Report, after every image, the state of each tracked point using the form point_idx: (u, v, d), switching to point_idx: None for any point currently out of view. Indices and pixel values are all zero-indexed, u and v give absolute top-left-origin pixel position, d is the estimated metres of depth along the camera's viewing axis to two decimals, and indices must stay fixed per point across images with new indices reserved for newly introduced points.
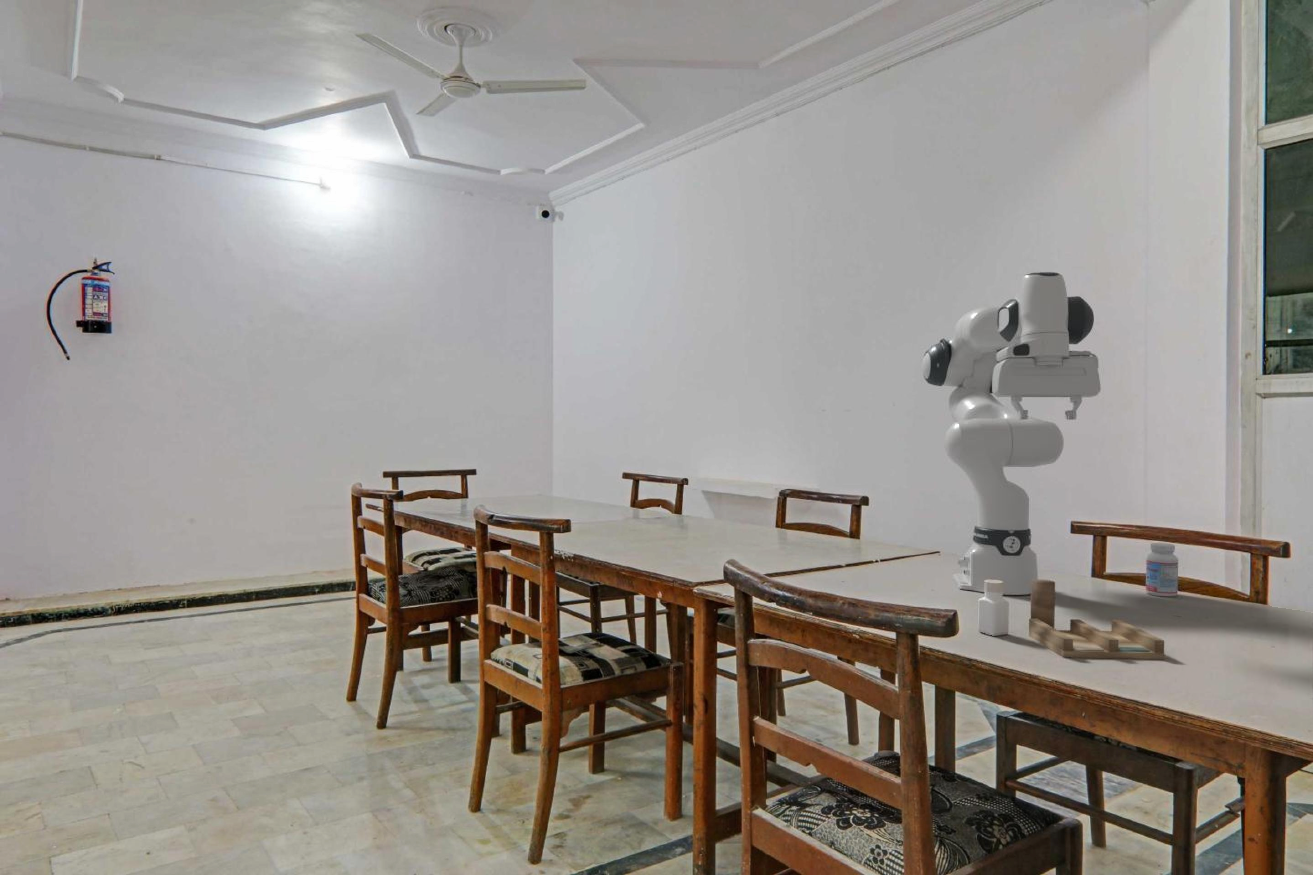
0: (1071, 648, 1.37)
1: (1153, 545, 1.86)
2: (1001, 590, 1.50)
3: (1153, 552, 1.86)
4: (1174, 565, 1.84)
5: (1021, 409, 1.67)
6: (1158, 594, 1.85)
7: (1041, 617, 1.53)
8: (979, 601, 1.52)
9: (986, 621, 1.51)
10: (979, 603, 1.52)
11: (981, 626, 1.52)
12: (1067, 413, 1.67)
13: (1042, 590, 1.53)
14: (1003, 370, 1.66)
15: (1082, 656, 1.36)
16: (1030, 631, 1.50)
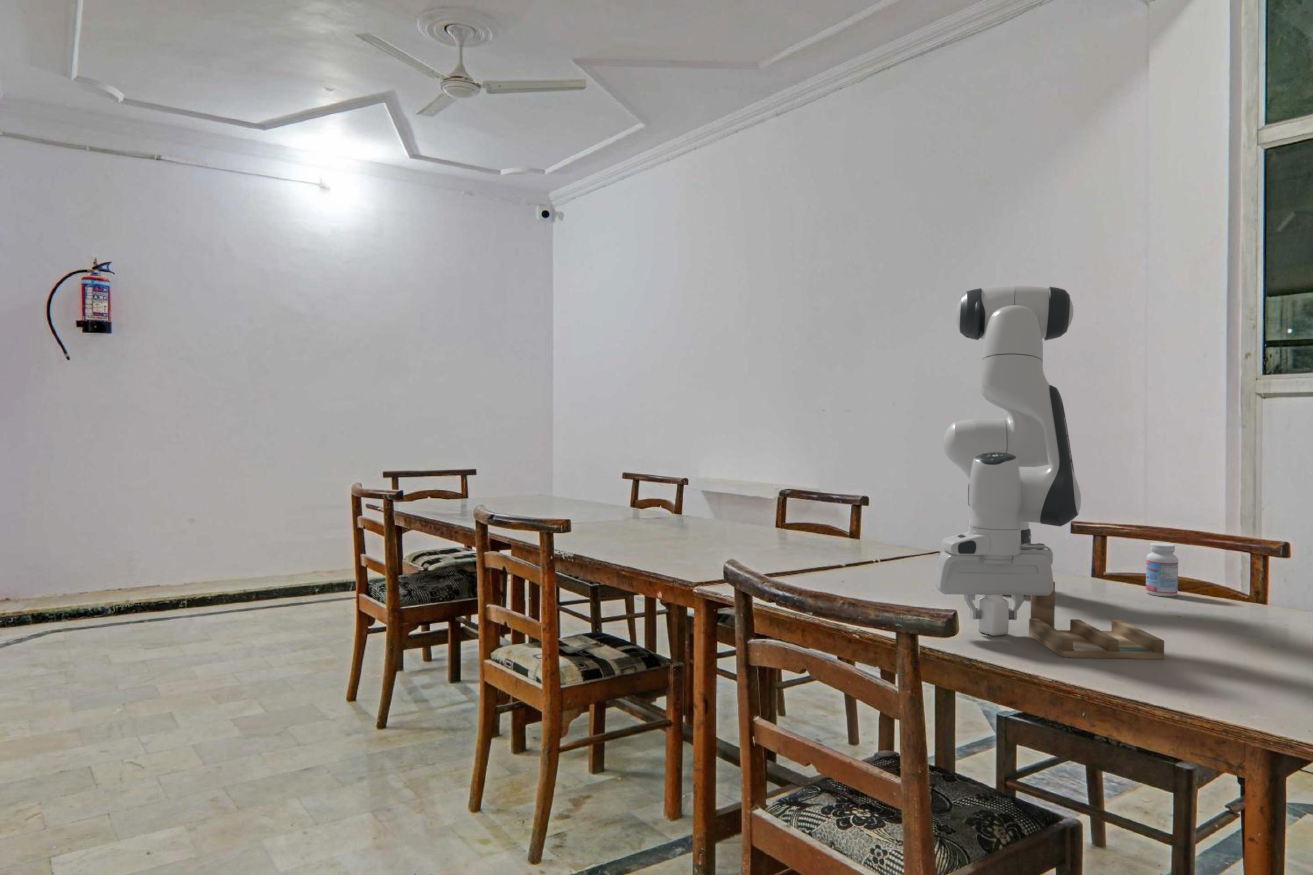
0: (1071, 648, 1.37)
1: (1153, 545, 1.86)
2: None
3: (1153, 552, 1.86)
4: (1174, 565, 1.84)
5: (974, 609, 1.51)
6: (1158, 594, 1.85)
7: (1041, 617, 1.53)
8: (979, 601, 1.52)
9: (986, 621, 1.51)
10: (979, 603, 1.52)
11: (981, 626, 1.52)
12: None
13: None
14: (946, 568, 1.50)
15: (1082, 656, 1.36)
16: (1030, 631, 1.50)
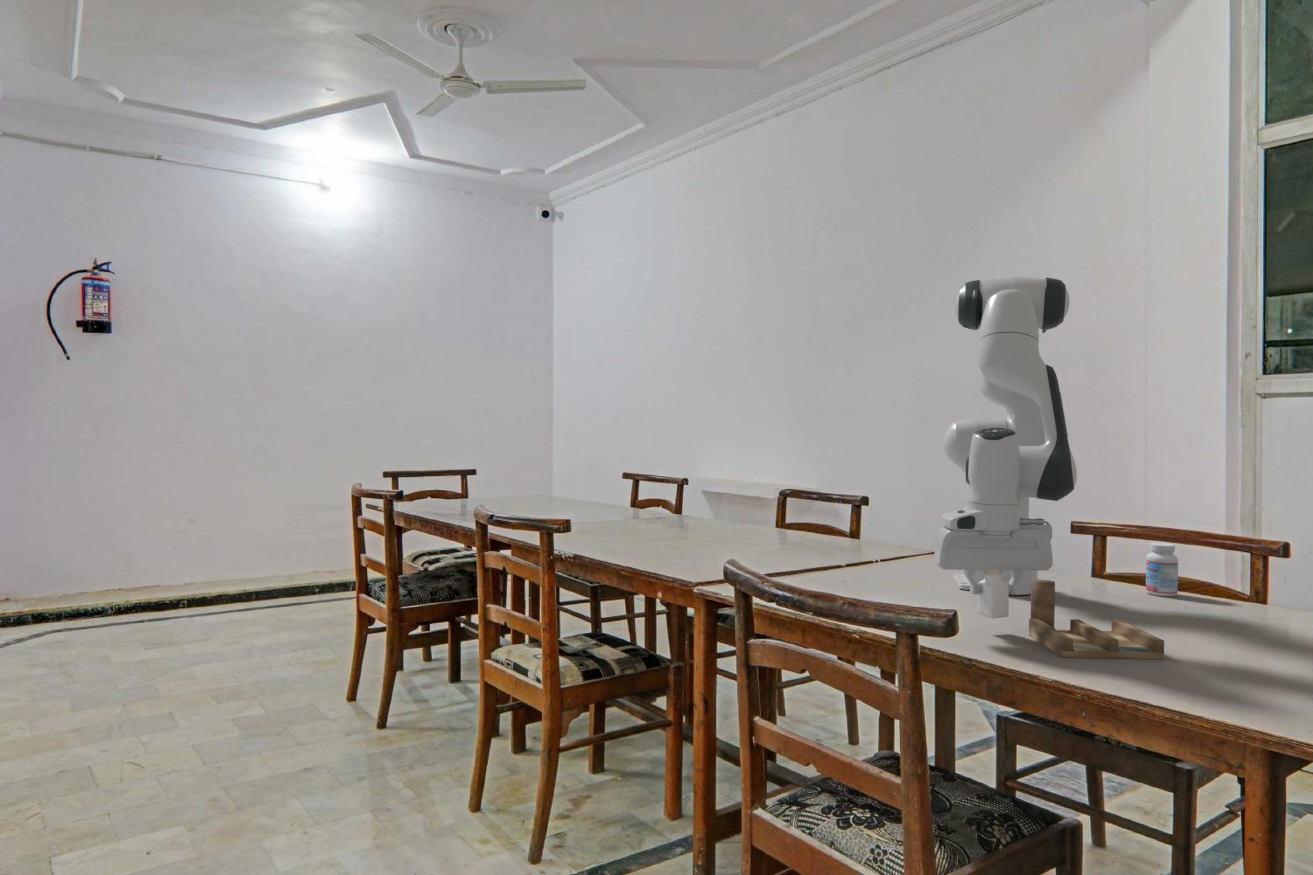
0: (1071, 648, 1.37)
1: (1153, 545, 1.86)
2: (1000, 573, 1.51)
3: (1153, 552, 1.86)
4: (1175, 565, 1.84)
5: (974, 584, 1.51)
6: (1158, 594, 1.85)
7: (1041, 617, 1.53)
8: None
9: (985, 604, 1.51)
10: None
11: (981, 609, 1.52)
12: None
13: (1042, 590, 1.53)
14: (946, 544, 1.50)
15: (1082, 656, 1.36)
16: (1030, 631, 1.50)
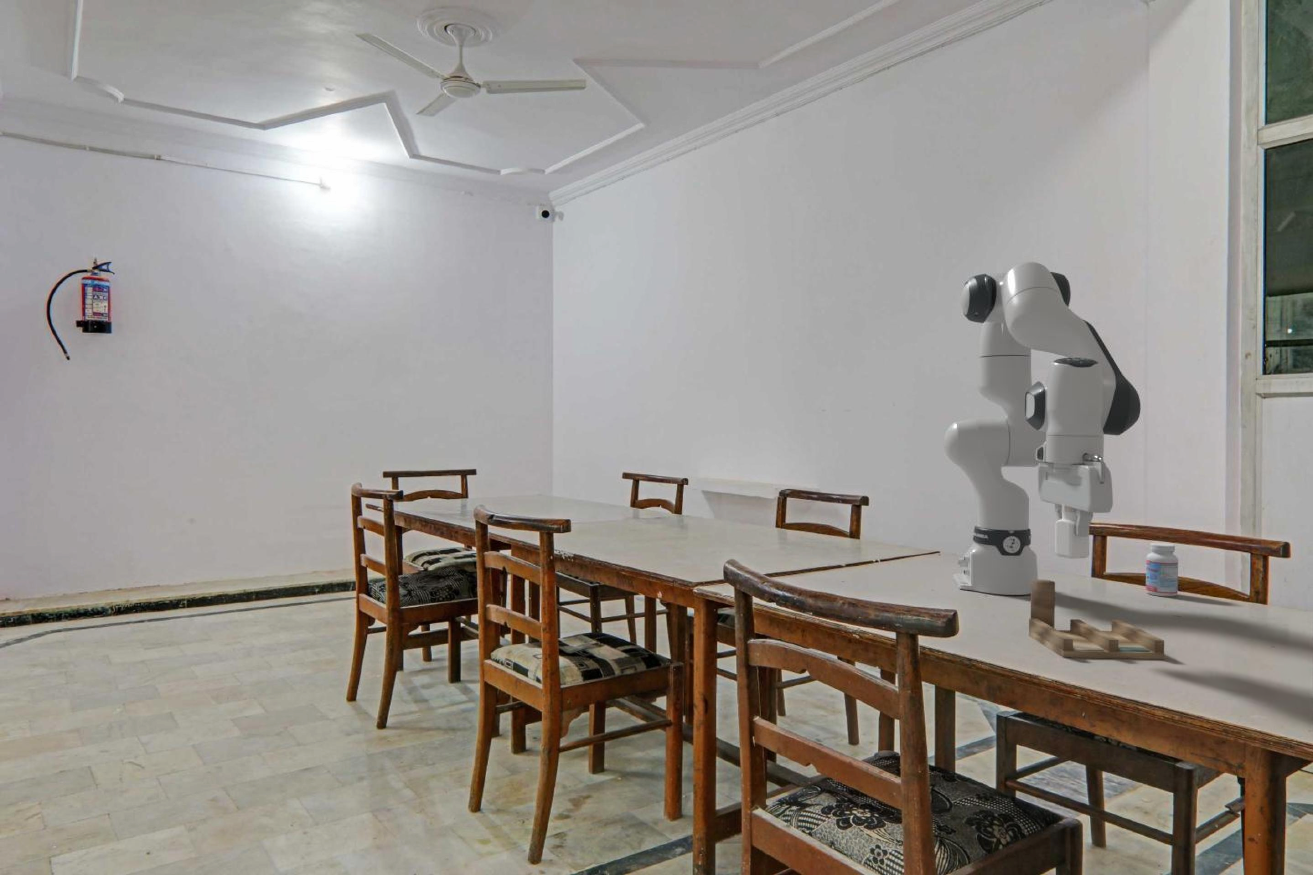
0: (1071, 648, 1.37)
1: (1153, 545, 1.86)
2: (1066, 510, 1.42)
3: (1153, 552, 1.86)
4: (1174, 565, 1.84)
5: None
6: (1158, 594, 1.85)
7: (1041, 617, 1.53)
8: None
9: None
10: None
11: None
12: None
13: (1042, 590, 1.52)
14: (1038, 474, 1.52)
15: (1082, 656, 1.36)
16: (1030, 631, 1.50)
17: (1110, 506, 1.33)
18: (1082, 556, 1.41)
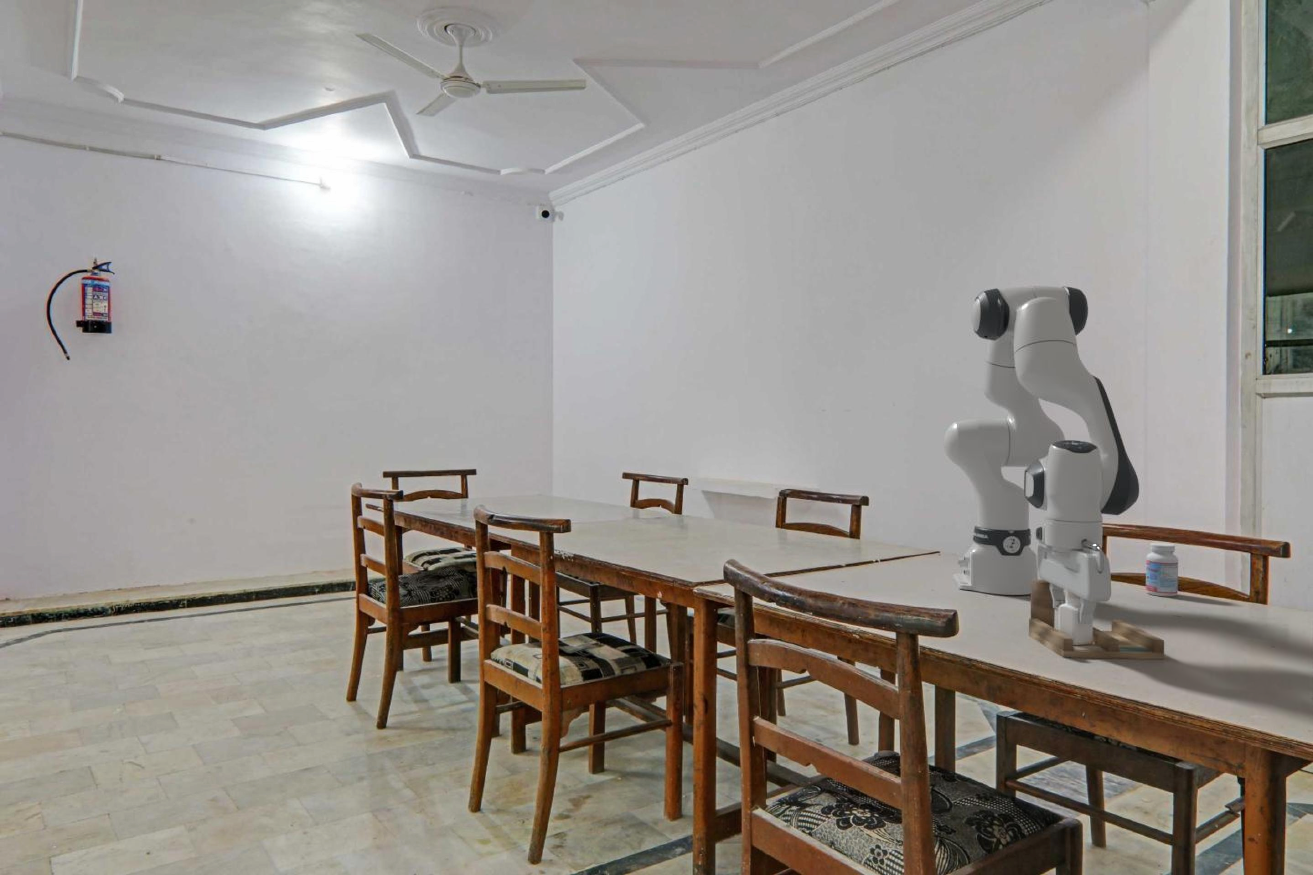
0: (1071, 648, 1.37)
1: (1153, 545, 1.86)
2: (1069, 595, 1.41)
3: (1153, 552, 1.86)
4: (1174, 565, 1.84)
5: (1053, 598, 1.49)
6: (1158, 594, 1.85)
7: (1041, 617, 1.53)
8: None
9: None
10: None
11: None
12: None
13: (1042, 590, 1.53)
14: (1037, 552, 1.52)
15: (1082, 656, 1.36)
16: (1030, 631, 1.50)
17: (1109, 595, 1.33)
18: (1085, 643, 1.40)
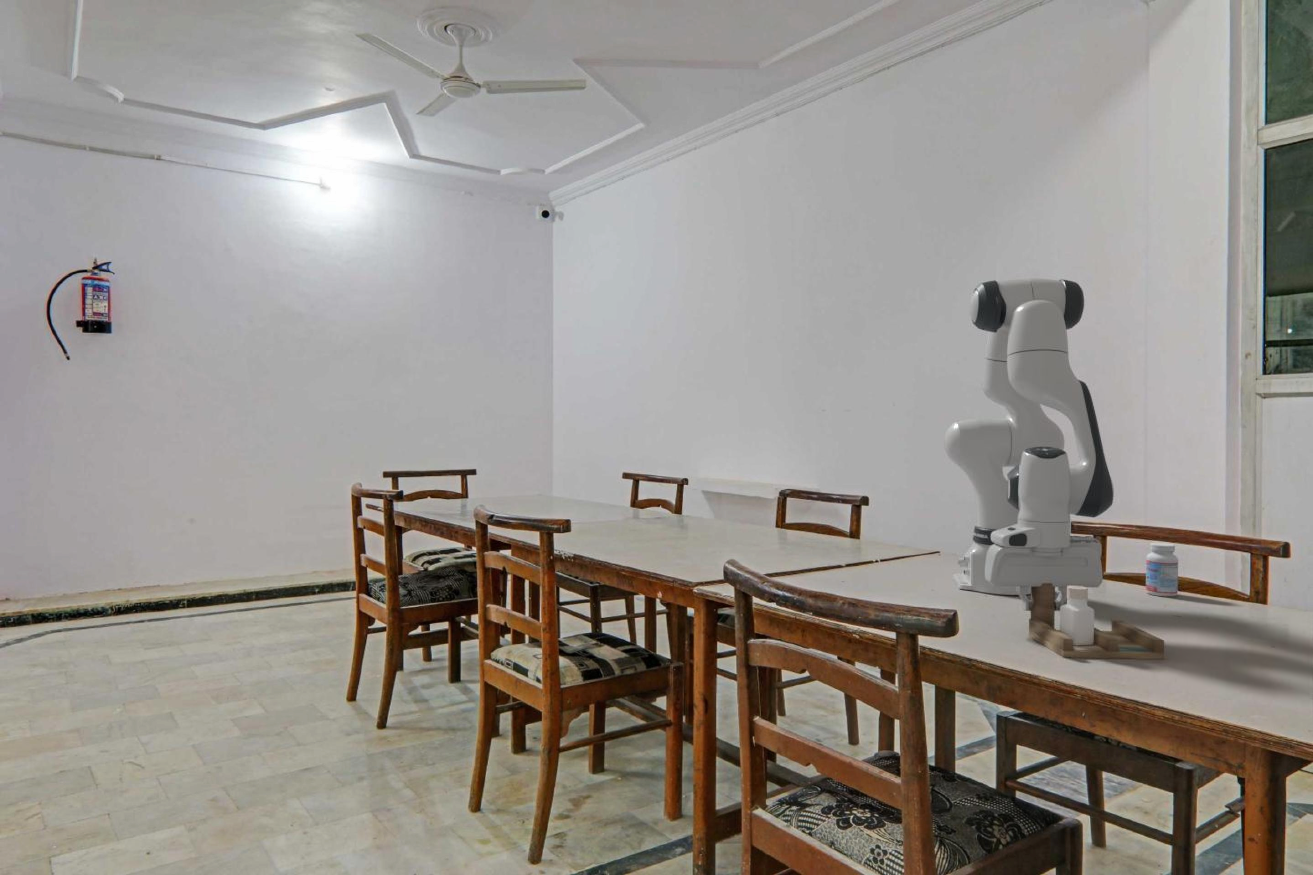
0: (1071, 648, 1.37)
1: (1153, 545, 1.86)
2: (1070, 596, 1.41)
3: (1153, 552, 1.86)
4: (1174, 565, 1.84)
5: (1026, 601, 1.54)
6: (1158, 594, 1.85)
7: (1041, 617, 1.53)
8: None
9: None
10: None
11: None
12: None
13: (1042, 590, 1.52)
14: (997, 561, 1.52)
15: (1082, 656, 1.36)
16: (1030, 631, 1.50)
17: None
18: (1086, 643, 1.40)
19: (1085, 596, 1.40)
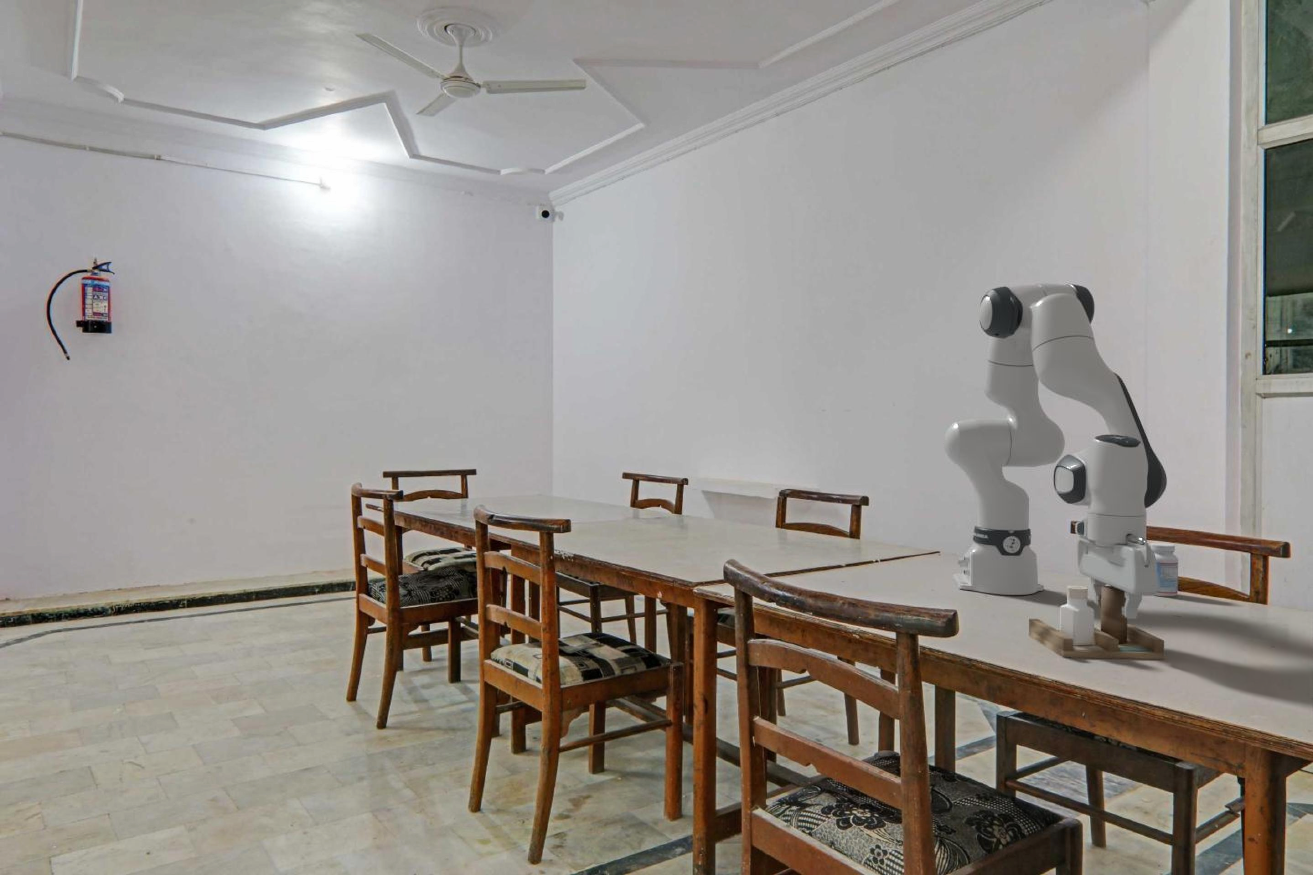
0: (1071, 648, 1.37)
1: (1153, 545, 1.86)
2: (1070, 596, 1.41)
3: None
4: (1174, 565, 1.84)
5: (1095, 593, 1.48)
6: (1158, 594, 1.85)
7: None
8: None
9: None
10: None
11: None
12: None
13: (1101, 594, 1.44)
14: (1077, 547, 1.52)
15: (1082, 656, 1.36)
16: (1030, 631, 1.50)
17: (1155, 590, 1.33)
18: (1086, 643, 1.40)
19: (1085, 596, 1.40)
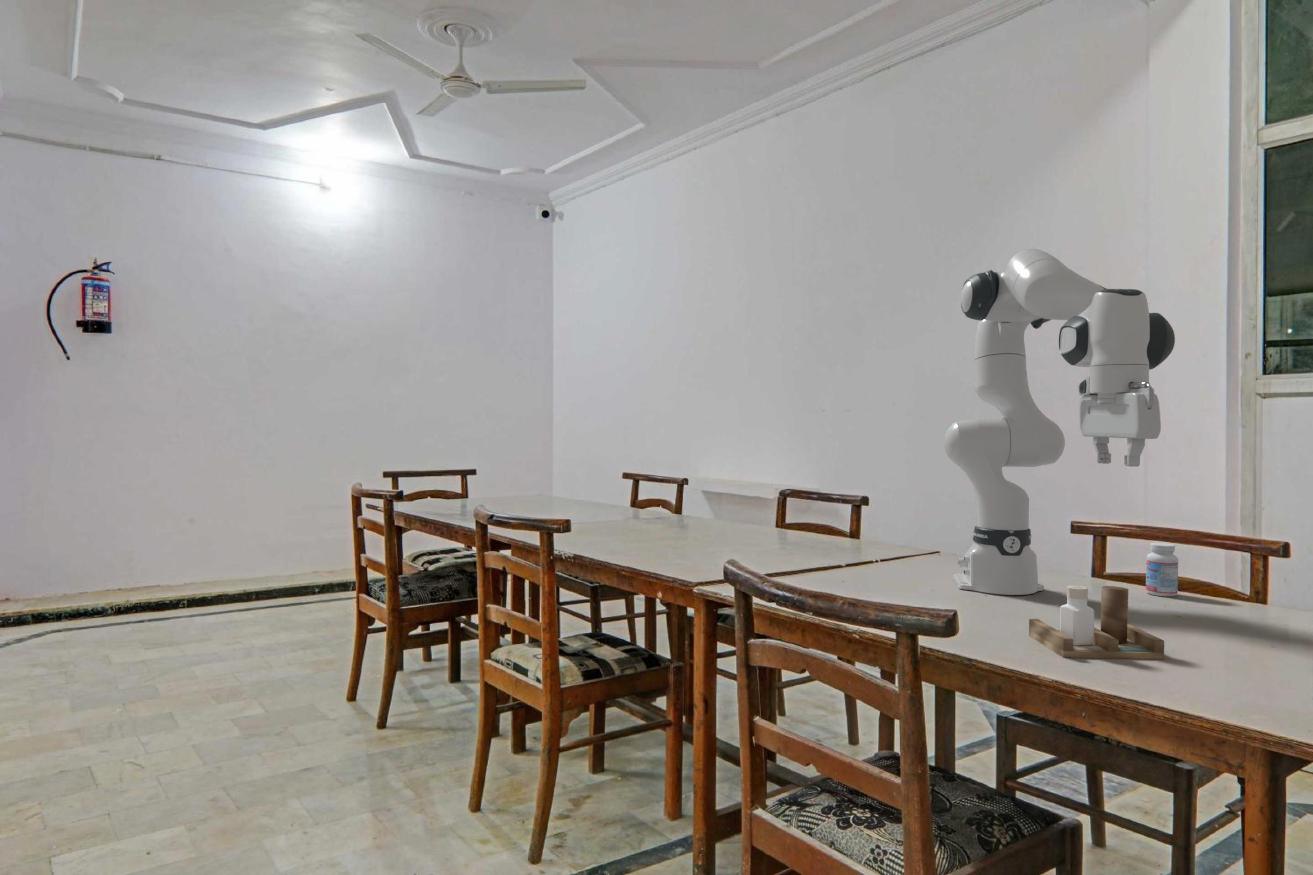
0: (1071, 648, 1.37)
1: (1153, 545, 1.86)
2: (1070, 596, 1.41)
3: (1153, 552, 1.86)
4: (1174, 565, 1.84)
5: (1097, 452, 1.48)
6: (1158, 594, 1.85)
7: None
8: None
9: None
10: None
11: None
12: None
13: None
14: (1079, 410, 1.51)
15: (1082, 656, 1.36)
16: (1030, 631, 1.50)
17: (1158, 432, 1.32)
18: (1086, 643, 1.40)
19: (1085, 596, 1.40)
